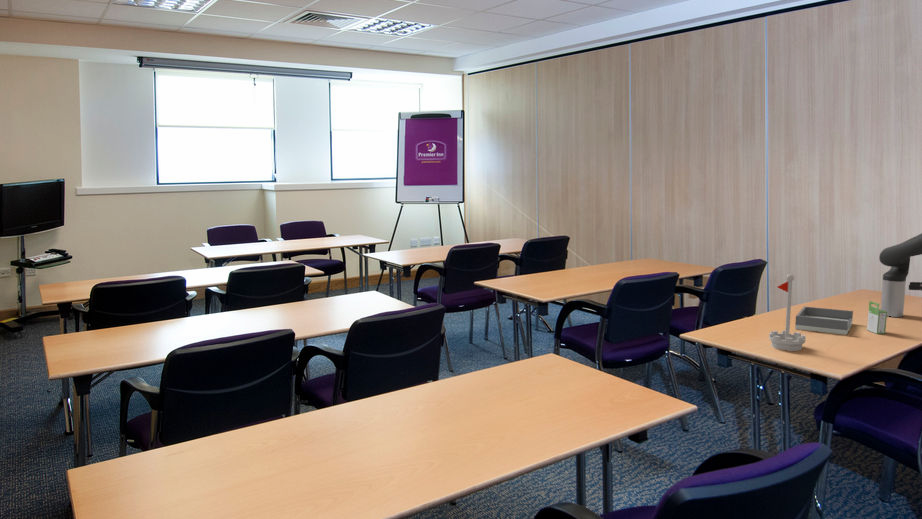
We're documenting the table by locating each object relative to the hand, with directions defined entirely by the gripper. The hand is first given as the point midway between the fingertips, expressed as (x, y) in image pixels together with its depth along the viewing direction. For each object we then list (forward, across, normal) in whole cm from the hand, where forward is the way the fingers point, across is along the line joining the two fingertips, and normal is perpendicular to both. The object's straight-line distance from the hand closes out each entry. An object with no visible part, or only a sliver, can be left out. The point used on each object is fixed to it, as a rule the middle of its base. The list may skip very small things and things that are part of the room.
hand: (909, 285), depth 270 cm
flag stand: (+39, +46, +20) cm, 64 cm away
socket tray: (+32, 0, +19) cm, 37 cm away
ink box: (+12, 0, +21) cm, 24 cm away
